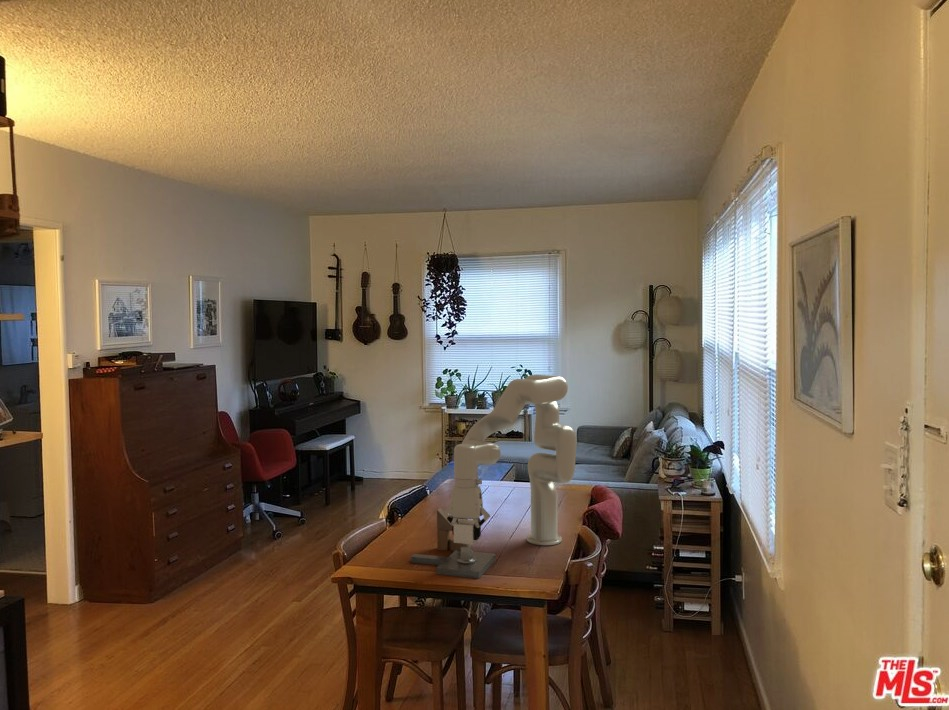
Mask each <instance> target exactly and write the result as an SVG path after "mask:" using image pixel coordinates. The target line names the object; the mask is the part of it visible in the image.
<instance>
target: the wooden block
mask: <svg viewBox="0 0 949 710" xmlns="http://www.w3.org/2000/svg"><path fill="white" fill-rule="evenodd" d="M444 511H445V510H443V509H442V507H438V508H437V509H436V522H437V523H436V529H437V530H436V532H437V533H436V535H437V538H436V540H437V544H436V545H437V546H436V547H437V548H436V549H437V551H448V550H449V551H452V552H454V551H455V550H460V551H461V546H462V545H463V543H454V537H450V532H452V525H451V523H450V522H449V521H448V520H447V518H446V517H445V516H444V515H443V512H444ZM459 519H463V518H459ZM459 519H458V520H459ZM468 545H470V544H468Z"/></svg>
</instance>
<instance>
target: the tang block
mask: <svg viewBox="0 0 949 710" xmlns="http://www.w3.org/2000/svg"><path fill="white" fill-rule="evenodd" d="M473 545H474V544H469V545H468V544H463V545H462V546H461V551H460V550H455V551H452V553H451V554H449V556H441V555H440V556H439V555H432V554H431V555H430V554H420V553H414V554H412V555H410V563H412V564H418V565H419V564H421V565H422V564H423V565H431V566H437V567H436V571H435V572H436V575H443V576H450V577H452V576H453V577H461V578H471V579H479V580H480V578H481V577H482V576H483V575H484V574H485V573H486V572H487V570H488V569H489V568H490V567H491V566H492V564H493V563H494V562H495V561H496V555H497V554H496V553H489V552H482V551H481V552H480V551H479V552H478V551H473V548H474V547H473Z"/></svg>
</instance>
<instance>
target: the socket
mask: <svg viewBox="0 0 949 710" xmlns="http://www.w3.org/2000/svg"><path fill="white" fill-rule="evenodd" d="M475 527H476V525H475V523H474V521H473V519H459V520H458V521H457V522H456V523H454V535H453V538H454V543H463V544H469V545H474V544H475V543H476V542H477V541H478V540H475Z"/></svg>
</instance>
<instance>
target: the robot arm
mask: <svg viewBox="0 0 949 710" xmlns="http://www.w3.org/2000/svg"><path fill="white" fill-rule="evenodd" d="M568 389H569V387H568V382H567V380H566V379H565V378H564V377H563V376H559V375H550V374H547V375H546V374H531V375H527V376H526V377H525V378H516V379H512V380H511V381H509V383H508V385H507V386H506V387H505V389H504V391H503V392H502V395H501V396H500V398H499V400H498V401H497V403H496V404H495V406H494V408H493V409H492V410H491V412H489V413H488V414H486V415H484V416H483V417H481V419H479V420H478V421H477V422H475V423H474V424H473V425H472V426H471V427H470V428H469V430H468V432H467V433H466V434H465V437H464V438H463V440H462V442H461V443H460V444H459V443H458V444H456V445H455V446H454V448H453V451H454V452H453V466H454V467H453V470H454V471H453V472H454V473H453V476H454V481H453V482H454V485H453V486H452V489H451V494H450V503H449V504H450V505H449V506H448V507H447V508H446V509H445V510H443V511H444V512H443V515H444V516H445V517H446V518H447V520H448V521H449V522H450V523H451V525H452V531H451V532H452V535H453V536H454V523H456V522H457V521H458V519H459V518H463V519H469V520H473V521H474V523H475V525H476V527H475V540H477V541H478V540H480V538H481V535H482V534H481V533H482V529H481V527H482V526H483V524H485V523H486V522H487V521H488V519H490V517H491V514H489V513H488V512H489V511H487V510H486V509H485V508H484V501H483V493H482V489H481V486H479V485H482V483H483V480H481V479H479V476H478V473H479V472H478V470H479V469H478V467H479V466H492V465H494V464H496V463H497V462H498V461H499V460H500V458H501V449H500V446H499V445H498V444H496V443H494V442H492V441H487V440H486V439H487V438H488V437H489V436H491V435H492V434H495V433H497V432H500V431H502V430H503V431H504V430H506V429H509V428H511V427H513V426H514V424H515V423H516V421H517V419H518V418H519V416H520V414H521V412H522V411H523V409H524V407H525V406H526V405H532V406H534V408H535V420H534V421H535V422H534V437H533V440H534V442H533V443H534V444H535V446H536V447H537V448H539V449H542V450H548V451H553V452H556V453H555V454H554V453H546V452H538V453H534V454H533V455H531V456H530V457H529V459H528V462H527V471H528V477H529V484H530V485H529V486H530V533H529V534H528V535H526V541H527V542H528V543H530V544H532V545H537V546H554V545H558V544H560V543H561V542H562V541H563V539H562V536H561V534H558V491H557V487H556V483H557V484H561V485H562V484H563V485H565V484H568V483H569V482H571V481H572V479H574V478H573V477H574V476H575V475H574V474H575V470H576V458H577V457H576V455H577V445H578V444H577V441H578V439H577V435H576V432H575V430H574V429H573V428H572V427H571V426H569V425H566V424H560V407H559V404H558V403H557V402H558V401H561V400H563V399H564V398H565V397H566V395H567V393H568ZM482 516H483V518H482V519H481V518H480V517H482Z"/></svg>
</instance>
